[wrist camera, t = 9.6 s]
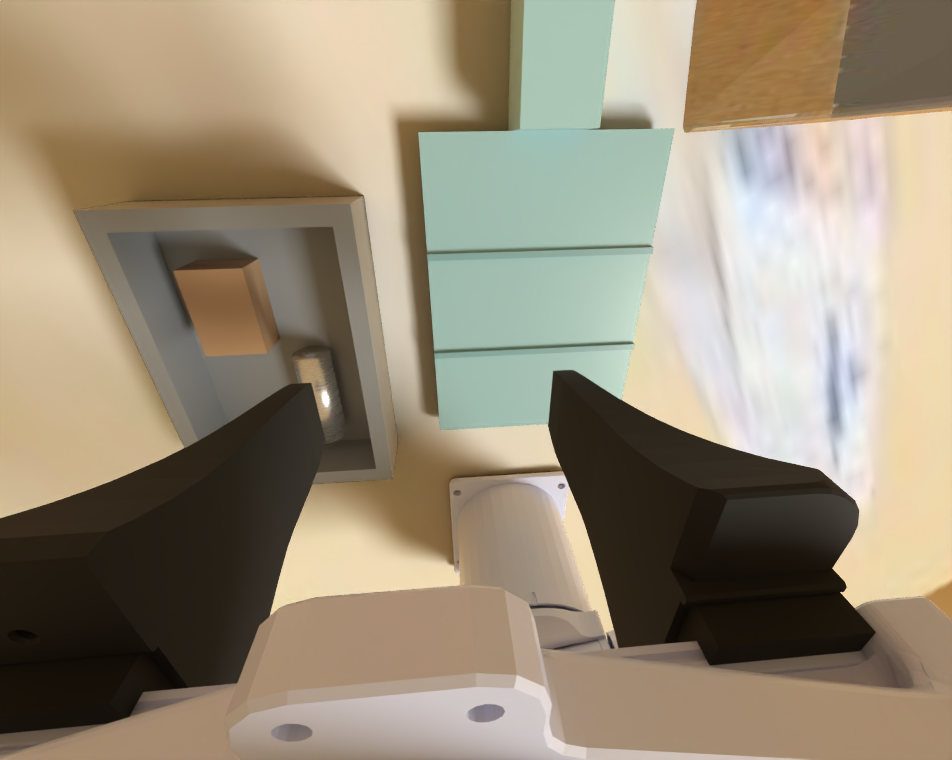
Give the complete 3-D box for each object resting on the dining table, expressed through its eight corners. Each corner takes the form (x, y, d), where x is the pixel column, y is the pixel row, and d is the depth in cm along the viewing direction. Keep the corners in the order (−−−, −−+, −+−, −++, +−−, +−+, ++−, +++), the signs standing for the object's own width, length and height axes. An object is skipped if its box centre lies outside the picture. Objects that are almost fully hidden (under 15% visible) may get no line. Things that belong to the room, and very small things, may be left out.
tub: (398, 442, 25) (392, 479, 22) (231, 452, 25) (204, 491, 22) (364, 195, 18) (350, 203, 15) (130, 201, 18) (73, 210, 15)
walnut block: (280, 338, 21) (267, 353, 19) (223, 340, 21) (205, 356, 19) (258, 258, 19) (241, 268, 17) (195, 260, 19) (172, 270, 17)
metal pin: (348, 422, 24) (344, 441, 22) (316, 425, 23) (310, 445, 22) (332, 344, 21) (326, 359, 20) (296, 347, 21) (287, 362, 19)
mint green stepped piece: (610, 408, 25) (630, 438, 23) (439, 418, 25) (439, 450, 22) (687, -18, 16) (737, -52, 13) (408, -20, 15) (402, -56, 12)
